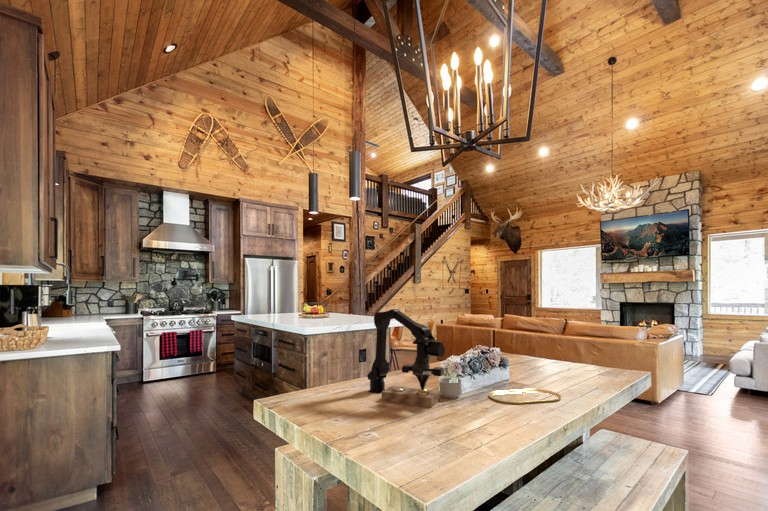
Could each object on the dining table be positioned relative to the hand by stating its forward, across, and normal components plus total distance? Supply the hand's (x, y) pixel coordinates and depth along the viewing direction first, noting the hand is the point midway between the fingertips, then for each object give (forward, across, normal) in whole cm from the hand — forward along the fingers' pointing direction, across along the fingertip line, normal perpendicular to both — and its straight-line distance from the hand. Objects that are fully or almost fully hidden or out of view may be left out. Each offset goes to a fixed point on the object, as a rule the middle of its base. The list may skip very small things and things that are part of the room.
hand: (422, 389), depth 175 cm
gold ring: (+6, +41, +29) cm, 51 cm away
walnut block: (+6, -6, 0) cm, 8 cm away
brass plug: (+3, 0, 0) cm, 3 cm away
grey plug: (+5, -12, 0) cm, 13 cm away
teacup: (+6, +8, +16) cm, 19 cm away
